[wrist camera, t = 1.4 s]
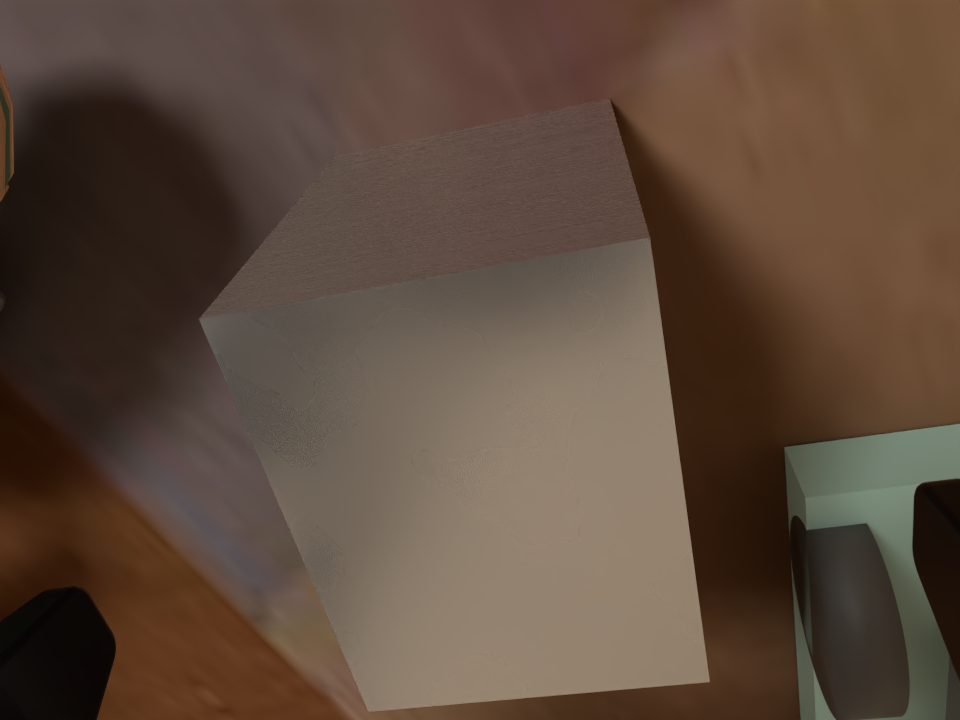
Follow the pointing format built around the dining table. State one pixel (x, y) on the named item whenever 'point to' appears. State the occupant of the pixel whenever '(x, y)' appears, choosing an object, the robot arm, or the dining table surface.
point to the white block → (474, 415)
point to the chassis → (867, 578)
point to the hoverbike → (5, 144)
